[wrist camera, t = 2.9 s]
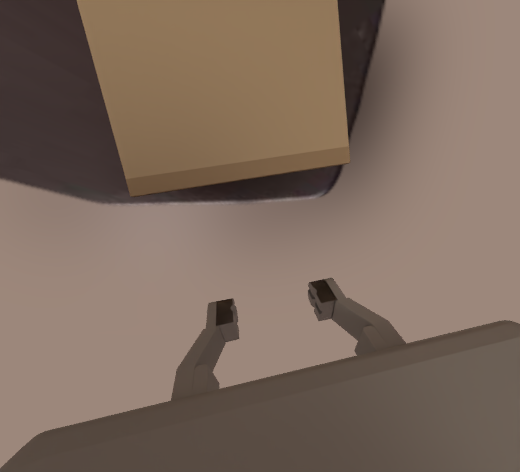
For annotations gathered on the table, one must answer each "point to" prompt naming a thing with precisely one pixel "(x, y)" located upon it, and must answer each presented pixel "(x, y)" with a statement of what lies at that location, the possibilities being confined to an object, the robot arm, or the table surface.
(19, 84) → the table surface
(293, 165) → the flap
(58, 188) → the table surface
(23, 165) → the table surface
